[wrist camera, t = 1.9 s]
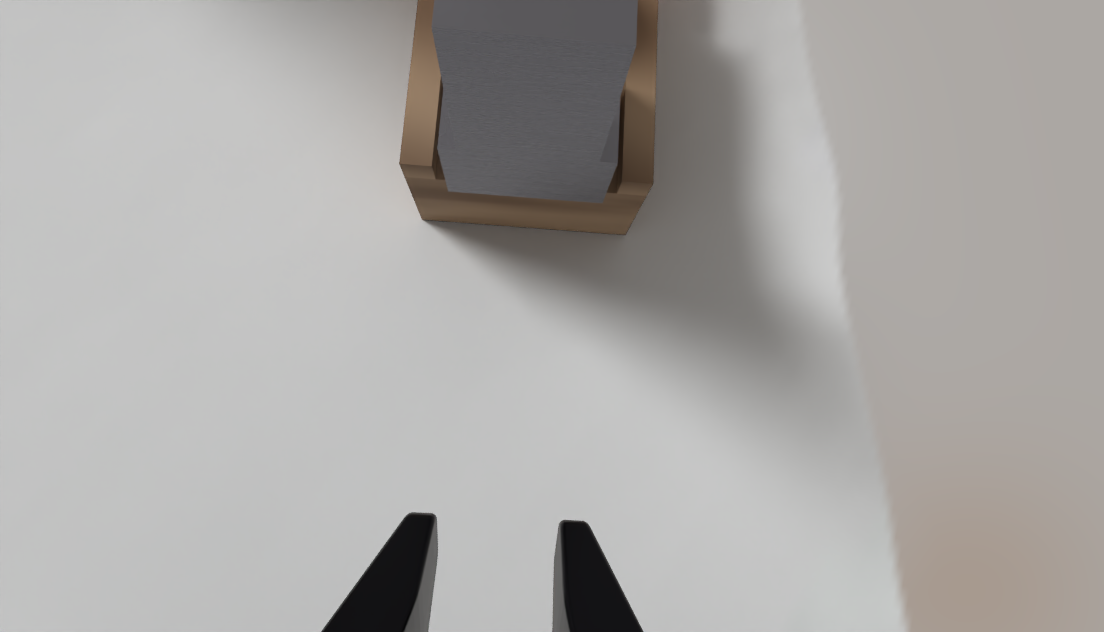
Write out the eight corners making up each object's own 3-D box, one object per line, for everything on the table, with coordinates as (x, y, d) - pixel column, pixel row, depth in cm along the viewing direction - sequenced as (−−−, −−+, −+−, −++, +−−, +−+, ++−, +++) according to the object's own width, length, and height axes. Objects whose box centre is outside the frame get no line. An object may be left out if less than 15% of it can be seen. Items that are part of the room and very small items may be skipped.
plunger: (602, 203, 20) (661, 47, 12) (448, 191, 20) (405, 24, 12) (607, 92, 21) (665, -122, 13) (459, 79, 21) (425, -148, 13)
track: (625, 234, 25) (653, 183, 20) (422, 219, 24) (399, 163, 19) (633, 12, 27) (659, -84, 22) (445, -5, 26) (430, -107, 21)
